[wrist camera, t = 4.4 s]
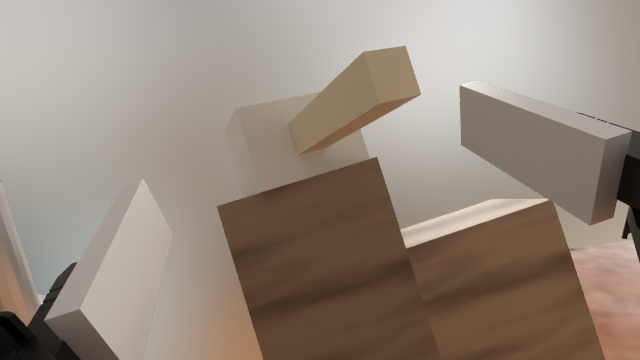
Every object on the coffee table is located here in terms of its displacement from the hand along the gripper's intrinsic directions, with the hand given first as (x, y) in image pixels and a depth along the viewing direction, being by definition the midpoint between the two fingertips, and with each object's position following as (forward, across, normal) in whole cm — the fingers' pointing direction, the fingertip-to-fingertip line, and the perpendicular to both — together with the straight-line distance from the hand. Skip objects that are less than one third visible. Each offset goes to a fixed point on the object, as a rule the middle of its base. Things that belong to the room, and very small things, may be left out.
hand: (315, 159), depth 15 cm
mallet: (+8, +2, -5) cm, 9 cm away
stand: (0, +6, -31) cm, 32 cm away
